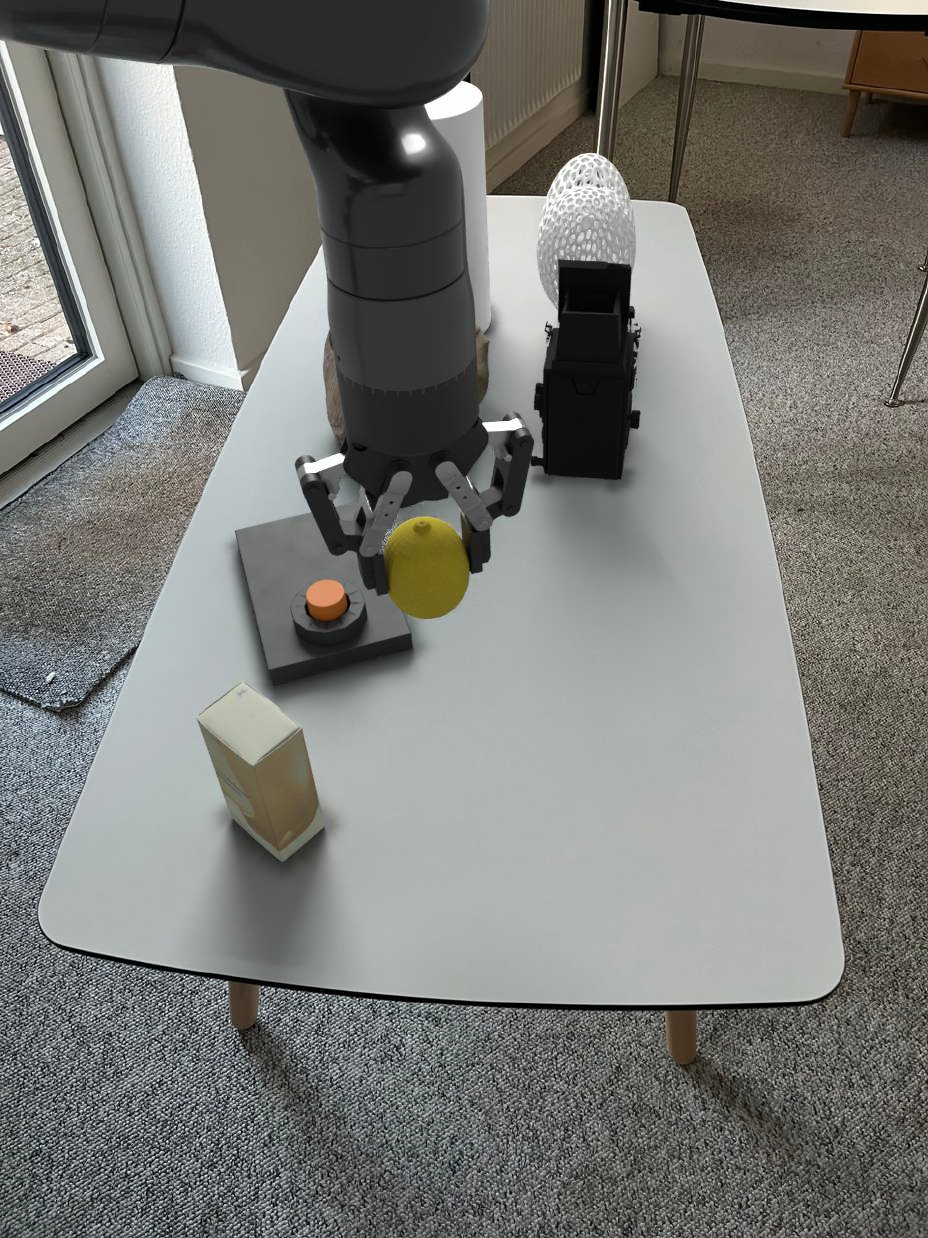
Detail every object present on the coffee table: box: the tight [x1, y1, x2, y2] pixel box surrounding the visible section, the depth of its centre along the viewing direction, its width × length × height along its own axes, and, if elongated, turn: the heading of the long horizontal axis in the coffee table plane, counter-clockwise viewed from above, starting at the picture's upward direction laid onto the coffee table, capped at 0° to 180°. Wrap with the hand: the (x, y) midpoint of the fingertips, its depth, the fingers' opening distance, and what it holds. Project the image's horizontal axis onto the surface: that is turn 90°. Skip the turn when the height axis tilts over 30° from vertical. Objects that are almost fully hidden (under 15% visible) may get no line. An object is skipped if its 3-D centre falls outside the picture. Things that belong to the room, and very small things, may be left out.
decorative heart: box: [536, 152, 637, 311], centre depth 117 cm, size 18×11×17 cm, turn 175°
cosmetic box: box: [195, 680, 326, 863], centre depth 74 cm, size 6×4×12 cm
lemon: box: [383, 516, 471, 620], centre depth 68 cm, size 6×6×8 cm
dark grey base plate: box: [234, 500, 414, 686], centre depth 93 cm, size 12×18×4 cm, turn 17°
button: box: [306, 580, 347, 621], centre depth 88 cm, size 3×3×2 cm
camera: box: [530, 259, 643, 481], centre depth 100 cm, size 10×14×20 cm
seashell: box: [322, 326, 490, 444], centre depth 108 cm, size 16×17×15 cm
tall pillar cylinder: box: [425, 80, 492, 334], centre depth 115 cm, size 11×11×25 cm
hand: (426, 574), depth 68 cm, fingers closed on lemon, 5 cm apart
